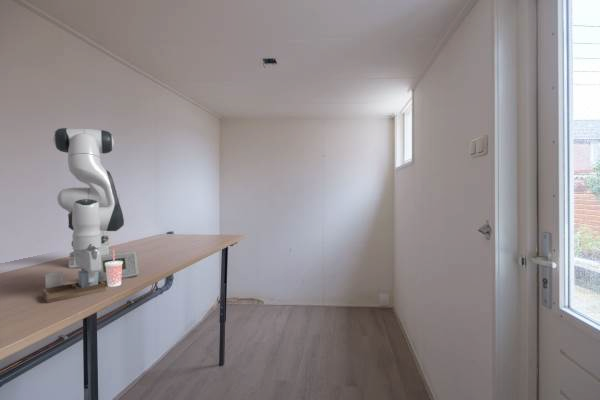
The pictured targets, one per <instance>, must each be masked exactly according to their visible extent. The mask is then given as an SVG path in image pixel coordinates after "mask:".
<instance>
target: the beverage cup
mask: <svg viewBox="0 0 600 400" xmlns="http://www.w3.org/2000/svg"><path fill="white" fill-rule="evenodd" d="M112 254H113V261H111V262H106V263H105V266H106V274H107V282H106V283H107V284H106V285H107V287H110V288H113V287H114V288H115V287H119V286H121V285H122V279H121V277H122V264H123V261H115V256H114V254H115V249H112Z"/></svg>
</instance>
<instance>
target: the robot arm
mask: <svg viewBox="0 0 600 400" xmlns="http://www.w3.org/2000/svg"><path fill="white" fill-rule="evenodd" d="M53 144H54V146H55V147H56V150H58V151H59V152H63V153H67V162H68V169H69V171H70V173H71V174H72V175H73V176H74V178H75V179H76V180H77V181H79V182H80V183H82V184H86V185H87V186H88V187H70V188H69V187H68V188H62V189H61V190H60V191H59V192H58V194H57V196H56V197H57V203H58V205H59V207H61V208H62V209H63V210H65V211H67V212H68V214H67V217H68V228H69V229H70V230H72V231H73V233H72V237H71V238H72V241H71V247H72V250H73V251H71V252H69V258H71V259H70V260H68V268H69V269H72V268H74V269H75V268H80V270H81V271H85V270H86V271H88V277H87V281H88V282H94V276H95V272H99V271H101V268H102V266H101V255H107V254H110V251H109V246H108V245H106V244H105V243H106V236H105V235H104V232H117V231H119V230H120V229H121V228H122V227H123V226H124V225H125V214H124V212H123V210H122V207H121V204H120V200H121V199H120V194H119V193H118V191H117V189H116V186H115V182H114V180H113V176H112V174H111V173H110V171H109V170H107V169H105V168H104V166H103V165H102V160H101V159H102V158H101V154H109V153H111V152H112V151H113V150H114V147H115V139H114V137H113V135H112V133H111V132H110V131H108V130H104V129H101V130H99V129H94V128H66V127H61V128H57V129H56V131H55V132H54V135H53Z"/></svg>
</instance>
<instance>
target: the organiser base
mask: <svg viewBox="0 0 600 400" xmlns="http://www.w3.org/2000/svg"><path fill="white" fill-rule="evenodd" d="M106 283H107V282H103V281H101V280H99V279H98V284H97V285H92V286H87V287H81V286H79V283H78V282H73V283H69V284H63V285H62V286H56V287H51V288H46V287H45V288H42V289H41V297H42V299H44V301H45V302H46V303H47V304H48V303H49V304H50V303H54V302H59V301H64V300H67V299H71V298H77V297H78V298H79V297H81V296H86V295H91V294H95V293H100V292H101V293H102V292H104V291H106V290H107V287H106V286H107V284H106Z"/></svg>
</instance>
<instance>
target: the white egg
mask: <svg viewBox="0 0 600 400" xmlns="http://www.w3.org/2000/svg"><path fill="white" fill-rule="evenodd" d="M44 279H45V280H44V281H45V289H46V288H51V287H56V286H62V285H64V283H63V272H61V271H56V272H50V273H46V274H45V278H44Z"/></svg>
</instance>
